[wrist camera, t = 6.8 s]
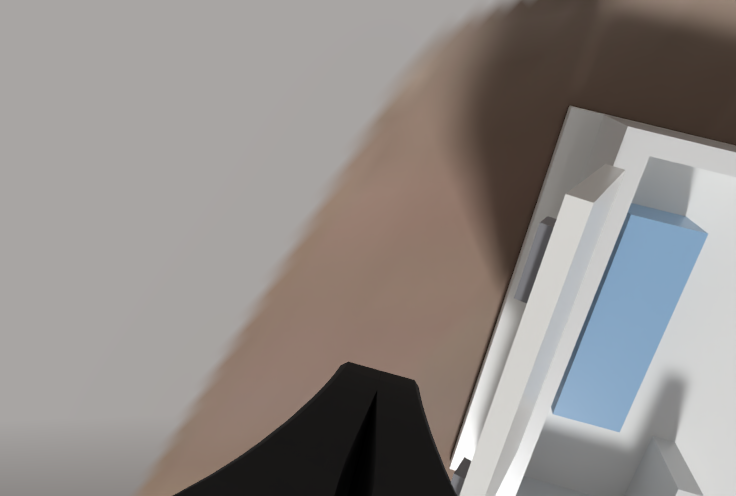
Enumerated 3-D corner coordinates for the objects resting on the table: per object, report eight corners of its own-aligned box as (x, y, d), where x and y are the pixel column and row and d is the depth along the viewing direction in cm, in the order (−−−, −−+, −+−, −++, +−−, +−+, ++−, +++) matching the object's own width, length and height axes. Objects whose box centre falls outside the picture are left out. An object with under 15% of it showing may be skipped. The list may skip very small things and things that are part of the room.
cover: (593, 203, 10) (549, 188, 11) (455, 576, 13) (423, 556, 14) (625, 169, 15) (593, 160, 15) (518, 450, 18) (493, 437, 19)
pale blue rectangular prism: (686, 216, 19) (708, 233, 17) (607, 401, 21) (619, 432, 19) (615, 199, 19) (631, 214, 17) (545, 384, 21) (552, 414, 19)
